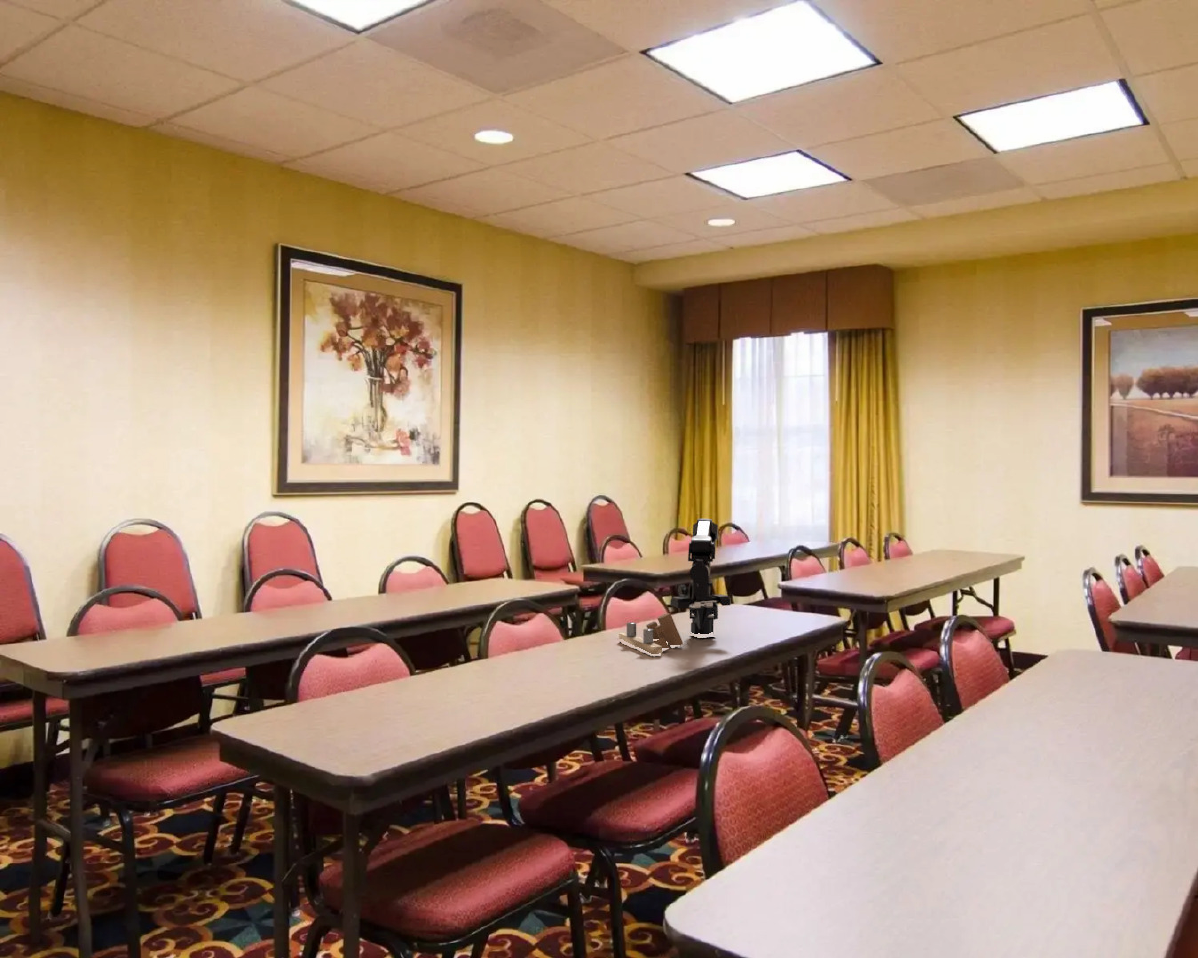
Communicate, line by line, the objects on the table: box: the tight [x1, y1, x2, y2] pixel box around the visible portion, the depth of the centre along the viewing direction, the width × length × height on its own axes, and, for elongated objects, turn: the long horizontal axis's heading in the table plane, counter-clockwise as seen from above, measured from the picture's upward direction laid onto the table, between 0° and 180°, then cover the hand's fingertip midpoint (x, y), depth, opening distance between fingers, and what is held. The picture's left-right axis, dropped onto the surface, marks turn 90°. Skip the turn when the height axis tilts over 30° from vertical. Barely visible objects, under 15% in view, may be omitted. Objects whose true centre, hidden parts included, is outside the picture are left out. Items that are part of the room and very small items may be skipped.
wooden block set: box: [646, 612, 684, 649], centre depth 286 cm, size 18×9×10 cm, turn 9°
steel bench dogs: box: [626, 622, 654, 644], centre depth 281 cm, size 3×15×7 cm, turn 23°
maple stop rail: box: [618, 632, 663, 654], centre depth 281 cm, size 3×24×3 cm, turn 23°
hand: (700, 628), depth 289 cm, fingers closed
